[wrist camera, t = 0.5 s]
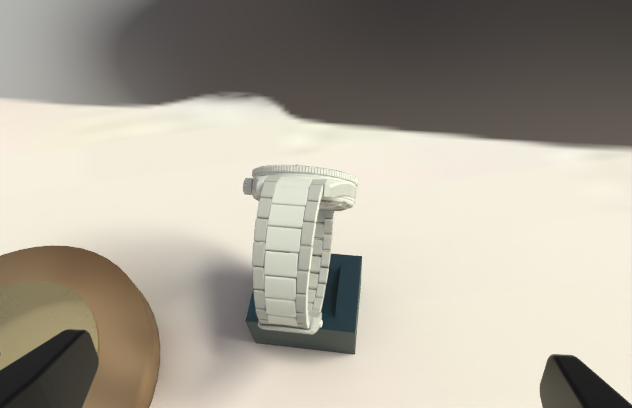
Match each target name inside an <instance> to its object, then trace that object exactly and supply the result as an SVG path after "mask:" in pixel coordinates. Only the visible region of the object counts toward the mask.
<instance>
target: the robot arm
mask: <svg viewBox="0 0 632 408" xmlns="http://www.w3.org/2000/svg"><path fill="white" fill-rule="evenodd" d="M98 365H99V358H98V355H97V352H96V349H95V346H94V343H93V341H92V338H91V335H90V333H89V332H88V331H87V330H84V329H66V330H64V331H62V332H60V333H59V334H57V335H56V336H54V337H52V338H51V339H49V340H48V341H46V342H45V343H43V344H41V345H40V346H38V347H37V348H35V349H33V350H32V351H30V352H29V353H27V354H25V355H24V356H22V357H21V358H19V359H17V360H16V361H14V362H13V363H11V364H9V365H8V366H6V367H5V368H3V369H1V370H0V408H83V405H84V403H85V400H86V398H87V395H88V393H89V390H90V388H91V385H92V383H93V380H94V378H95V375H96V373H97V370H98ZM540 397H541V402H542V406H543V408H632V405H631V404H630V403H629V402H628V401H627V400H626V399H624V398H623V397H622V396H621V395H620V394H619V393H618V392H616V391H615V390H614V389H613V388H612V387H611V386H609V385H608V384H607V383H606V382H605V381H604V380H603V379H601V378H600V377H599V376H598V375H597V374H596V373H594V372H593V371H592V370H591V369H590V368H589V367H588V366H586V365H585V364H584V363H583V362H582V361H581V360H579V359H578V358H577V357H575V356H573V355H560V354H553V355H550V356H549V358H548V360H547V363H546V366H545V370H544V373H543V376H542V380H541V383H540Z"/></svg>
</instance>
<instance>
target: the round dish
mask: <svg viewBox="0 0 632 408" xmlns="http://www.w3.org/2000/svg"><path fill="white" fill-rule="evenodd" d="M66 329H84V330H87V331H88V332H89V333H90V335H91V338H92V341H93V343H94V346H95V349H96V352H97V355H98V358H99V365H98V370H97V373H96V375H95V378H94V380H93V383H92V385H91V388H90V390H89V393H88V395H87V398H86V400H85V403H84V405H83V408H149V406H150V404H151V401H152V398H153V394H154V391H155V387H156V383H157V378H158V371H159V364H160V342H159V333H158V328H157V324H156V321H155V317H154V314H153V312H152V310H151V308H150V306H149V304H148V302H147V300H146V299H145V297H144V296H143V295H142V293H141V292H140V290H139V289H138V288H137V287H136V286H135V284H134V283H133V282H132V281H131V280H130V278H129V277H128V276H127V275H126V274H125V273H124V272H123V271H122V270H121V269H120V268H119V267H118V266H117V265H115V264H114V263H112V262H111V261H110V260H108V259H107V258H105V257H103V256H101V255H99V254H97V253H94V252H91V251H88V250H85V249H81V248H75V247H69V246H42V247H33V248H28V249H23V250H18V251H15V252H11V253H8V254H4V255H1V256H0V370H1V369H3V368H5V367H6V366H8V365H9V364H11V363H13V362H14V361H16V360H17V359H19V358H21V357H22V356H24V355H25V354H27V353H29V352H30V351H32V350H33V349H35V348H37V347H38V346H40V345H41V344H43V343H45V342H46V341H48V340H49V339H51V338H52V337H54V336H56V335H57V334H59V333H60V332H62V331H64V330H66Z"/></svg>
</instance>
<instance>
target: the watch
mask: <svg viewBox="0 0 632 408" xmlns="http://www.w3.org/2000/svg"><path fill="white" fill-rule="evenodd" d="M252 176H253V177H254V179H252V178H245V180H244V183H243V192H244V194H247V195H253V197H254V199H256V200H258V201H259V205H258V211H257V219H256V222H255V232H254V241H256V242H254V243H253V260H252V264H253V266H254V267H253V293H252V297H251V301H250V305H249V310H248V314H247V318H246V323H247V325H248V327H249V329H250V331H251V333H252V335H253V337H254V340H255V342H256V343H261V344H270V345H279V346H288V347H296V348H305V349H314V350H323V351H332V352H340V353H349V354H355V345H356V334H357V322H358V310H359V299H360V287H361V266H362V256H352V255H340V254H331V246H332V237H333V234H332V233H333V223H334V211H342V210H346V209H348V208H351V207H353V205H354V203H355V198H356V187H357V186H358V181H359V180H358V178H356V177H355V176H352V175H350V174H347V173H344V172H340V171H336V170H331V169H325V168H318V167H310V166H301V165H269V166H262V167H258V168H255V169H253V171H252ZM270 226H271V227H270ZM326 233H330V234H326ZM314 238H320V239H314ZM259 242H265V243H259ZM323 250H330V251H323Z"/></svg>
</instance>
